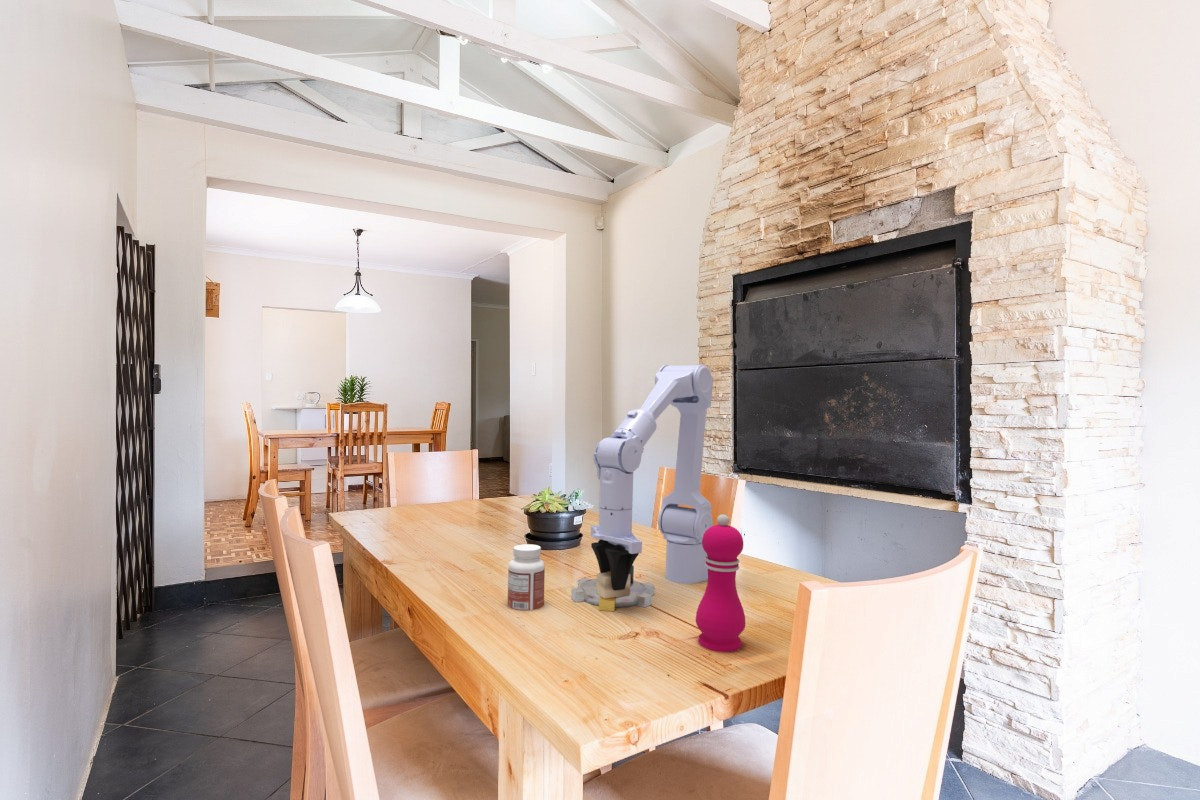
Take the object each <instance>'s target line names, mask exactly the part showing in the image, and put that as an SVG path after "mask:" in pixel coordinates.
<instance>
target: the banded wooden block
mask: <svg viewBox="0 0 1200 800" xmlns="http://www.w3.org/2000/svg"><path fill="white" fill-rule="evenodd" d="M596 579H597V583H596V594H598V595H599V596H601V597H603V598H604V599H606V598H613V597H619V596H626V595H630V574H629V576H628V579H627V583H626V586H625V589H623V590H613V588H612V584H611V571H609V572H604V573H600V572H598V573H596Z"/></svg>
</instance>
